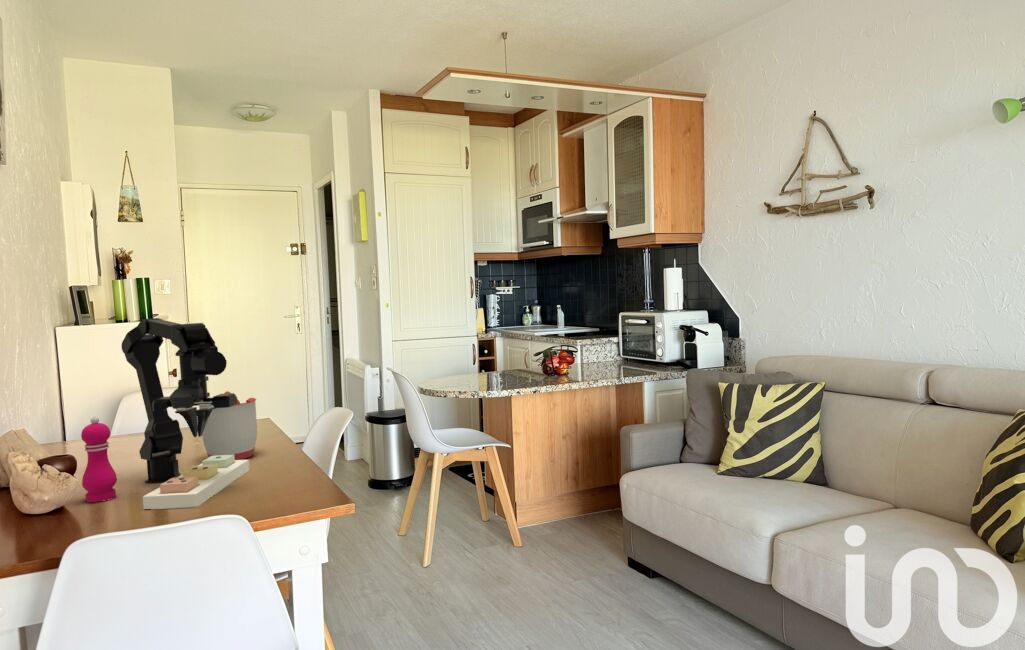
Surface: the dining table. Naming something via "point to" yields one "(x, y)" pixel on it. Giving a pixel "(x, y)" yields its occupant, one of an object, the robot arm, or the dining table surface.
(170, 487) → the three-pip tile
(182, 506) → the rail
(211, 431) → the citrus juicer
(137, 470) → the dining table surface
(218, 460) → the tile
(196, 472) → the tile
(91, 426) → the pepper mill
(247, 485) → the dining table surface
